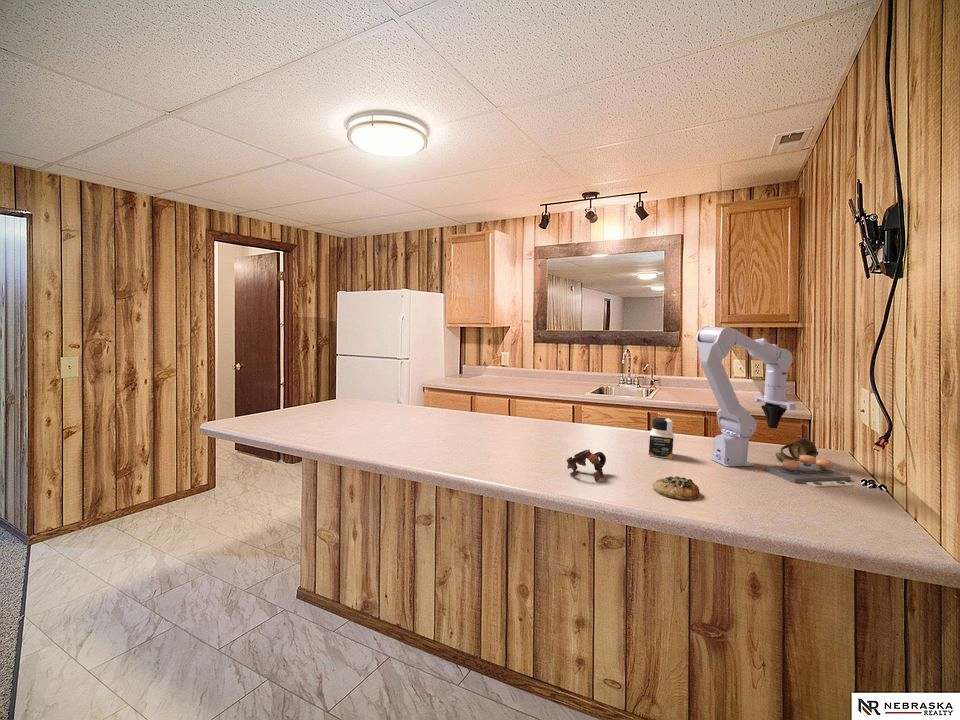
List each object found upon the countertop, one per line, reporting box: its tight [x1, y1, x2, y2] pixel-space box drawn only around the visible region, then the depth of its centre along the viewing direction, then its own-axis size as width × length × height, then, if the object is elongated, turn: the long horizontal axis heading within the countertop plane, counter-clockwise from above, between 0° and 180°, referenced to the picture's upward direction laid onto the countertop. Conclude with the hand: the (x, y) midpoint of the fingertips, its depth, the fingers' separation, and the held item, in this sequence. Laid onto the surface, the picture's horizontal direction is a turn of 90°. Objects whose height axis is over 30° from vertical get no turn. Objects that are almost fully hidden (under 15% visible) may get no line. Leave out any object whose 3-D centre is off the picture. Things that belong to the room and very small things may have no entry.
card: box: [805, 481, 854, 488], centre depth 131 cm, size 12×3×1 cm, turn 99°
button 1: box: [781, 459, 800, 471], centre depth 137 cm, size 4×4×3 cm
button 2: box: [814, 458, 833, 470], centre depth 139 cm, size 4×4×3 cm
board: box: [764, 464, 852, 484], centre depth 138 cm, size 18×11×2 cm, turn 99°
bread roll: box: [652, 475, 700, 501], centre depth 122 cm, size 11×11×5 cm
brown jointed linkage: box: [566, 449, 607, 482], centre depth 134 cm, size 12×10×8 cm
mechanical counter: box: [775, 437, 819, 463], centre depth 153 cm, size 7×13×10 cm
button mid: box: [798, 455, 817, 467], centre depth 138 cm, size 4×4×3 cm
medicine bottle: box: [648, 417, 675, 460], centre depth 155 cm, size 7×7×12 cm
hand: (772, 427), depth 152 cm, fingers closed
